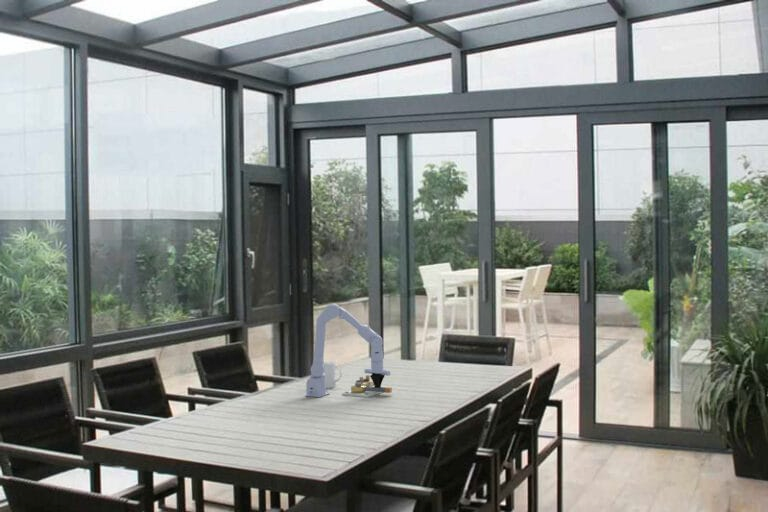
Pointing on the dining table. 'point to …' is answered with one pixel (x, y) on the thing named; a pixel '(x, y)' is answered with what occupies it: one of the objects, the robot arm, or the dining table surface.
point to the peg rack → (365, 381)
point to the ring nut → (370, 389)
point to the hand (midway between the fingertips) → (377, 389)
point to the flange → (362, 394)
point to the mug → (331, 374)
